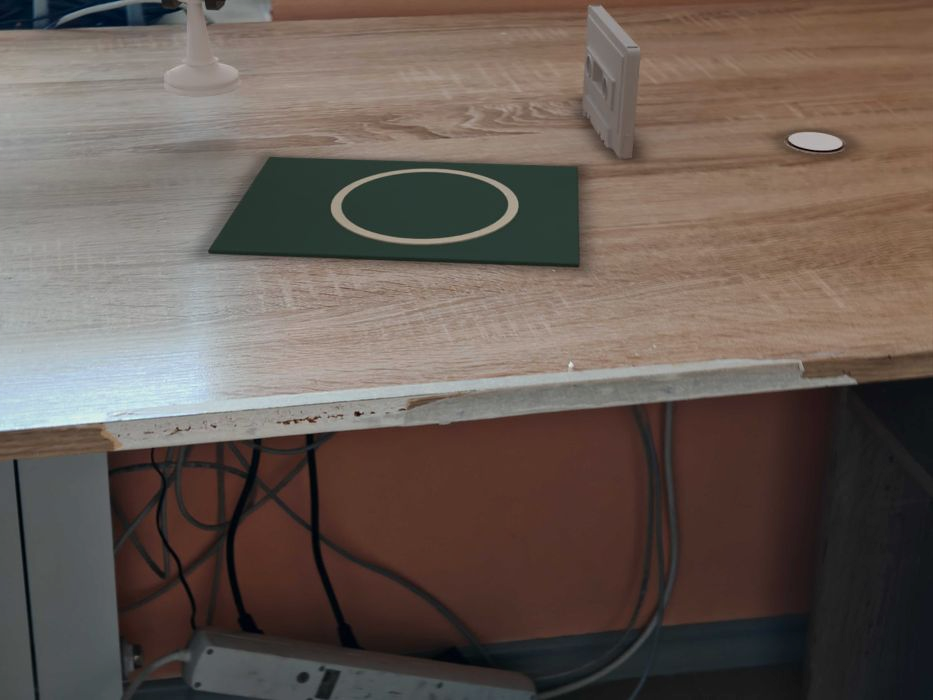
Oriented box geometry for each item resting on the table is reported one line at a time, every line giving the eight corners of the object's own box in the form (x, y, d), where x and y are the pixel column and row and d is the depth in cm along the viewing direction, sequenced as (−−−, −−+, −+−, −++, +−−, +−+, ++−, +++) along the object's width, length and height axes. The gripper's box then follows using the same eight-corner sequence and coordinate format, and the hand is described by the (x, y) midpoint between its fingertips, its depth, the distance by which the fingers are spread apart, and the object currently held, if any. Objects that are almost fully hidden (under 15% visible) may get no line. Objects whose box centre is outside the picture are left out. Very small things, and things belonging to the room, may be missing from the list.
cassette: (639, 166, 71) (649, 49, 67) (611, 167, 71) (620, 50, 67) (599, 107, 81) (606, 3, 77) (575, 108, 81) (580, 3, 77)
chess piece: (180, 72, 73) (161, -87, 68) (251, 76, 72) (237, -83, 67) (152, 94, 69) (130, -73, 63) (227, 99, 68) (211, -69, 63)
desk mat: (209, 263, 59) (207, 247, 58) (270, 167, 71) (268, 154, 70) (578, 277, 57) (579, 261, 57) (577, 177, 69) (577, 163, 69)
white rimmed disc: (771, 148, 73) (772, 139, 73) (805, 135, 76) (807, 126, 75) (822, 165, 71) (824, 156, 71) (856, 151, 73) (858, 142, 73)
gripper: (6, -322, 56) (63, 17, 65) (269, -316, 55) (291, 26, 64) (63, -320, 63) (108, -11, 71) (299, -314, 62) (315, -3, 71)
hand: (194, 5), depth 68 cm, fingers closed on chess piece, 2 cm apart
